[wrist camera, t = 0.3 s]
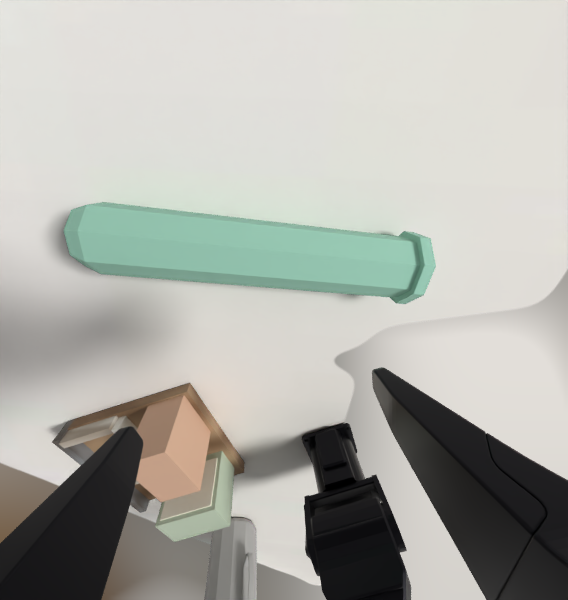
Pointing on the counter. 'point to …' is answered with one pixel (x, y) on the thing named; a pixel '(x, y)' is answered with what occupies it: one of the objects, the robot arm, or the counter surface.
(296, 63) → the counter surface
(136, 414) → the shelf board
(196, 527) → the tea box
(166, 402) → the rust box
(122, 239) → the container
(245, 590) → the water bottle
